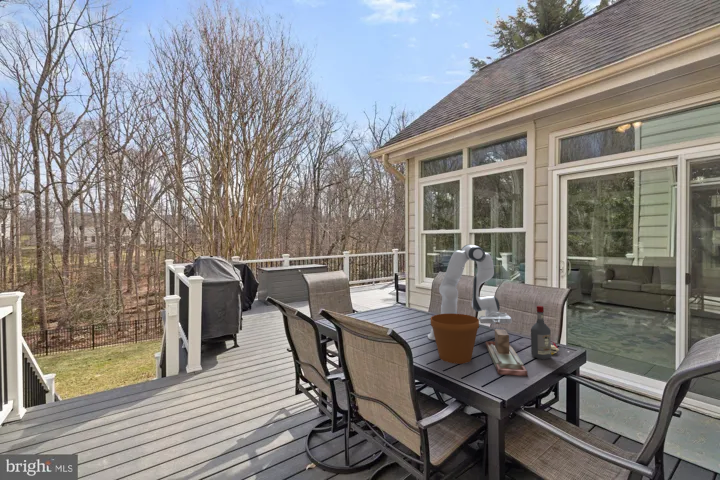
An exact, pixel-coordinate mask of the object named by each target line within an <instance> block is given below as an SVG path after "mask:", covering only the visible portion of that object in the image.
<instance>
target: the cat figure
mask: <svg viewBox="0 0 720 480" xmlns="http://www.w3.org/2000/svg"><path fill="white" fill-rule="evenodd" d="M551 343H552V344H553V345H552V344H551V355H554V354H557V352H559V351H560V349H559V348H558V346H557V345H556V343H555V342H553V341H552V340H551Z"/></svg>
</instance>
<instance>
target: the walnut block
mask: <svg viewBox="0 0 720 480" xmlns="http://www.w3.org/2000/svg"><path fill="white" fill-rule="evenodd" d="M494 342H495V347H496V349H497V351H498V353H503V354H509V344H510V334H509V333H508V332H507V330H506V329H501V328H500V329H499V328H498V329H497V328H495V329H494Z"/></svg>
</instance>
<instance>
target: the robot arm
mask: <svg viewBox="0 0 720 480" xmlns="http://www.w3.org/2000/svg"><path fill="white" fill-rule="evenodd" d="M468 261H472V262H473V261H474V262H476V267H477V273H476V275H474V277H473V281H472V283H473V284H472V297H471V298H472V299H471V308H472V309H473V310H474V311H476V312H482V311H484V312H485V313H484V315H481V316H479V317H478V319H479V324H491V325H500V324H513V323H512V322H513V320H512V317H511V316H510V315H509V314H507V313H508V312H501V311H500V310H501V309H500V307H501V306H500V302H499V300H498V298H497V297H496V296H495V295H487V296H479V295H480V286H481V285H482V284H483V283H485V282H487V281H490V280H491V279H492V278H493V277H494V275H495V268H494V262H493V258H492V255H491V254H490V253H489V252H485V251H484V250H483V248H482V247H480V246H478V245H475V244H466V245H464V246H463V247H461V249H460V250H454V251H453V253H452V255H451V257H450V259H449V261H448V264H447V268H446V270H445V274H444V276H443V278H442V281H441V283H440V285H439V288H438V291H439V294H440V295H441V305H440V314H458V313H457V312H458V310H457V309H458V300H459V290H458V288H457V286H458V283H459V281H460V280H461V279H462V276H463V274H464V273H463V272H464V269H465V267H466V264H467V262H468ZM427 339H429V340H433V341H436V340H435V336H434V332H433V328H432V327H431V330H430V333H428V334H427Z"/></svg>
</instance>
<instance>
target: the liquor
mask: <svg viewBox="0 0 720 480" xmlns="http://www.w3.org/2000/svg"><path fill="white" fill-rule="evenodd" d="M544 309H545V307H544V306H543V305H536V322H535V323H534V324H533V325H532V326H531V329H530V348H531V350H530V351H531V353H530V354H531V356H532V357H534V358H536V359H538V360H548V359H551V357H552V354H551V345H552V342H551V341H552V340H551V339H552V337H551V336H552V335H551V333H552V332H551V331H552V330H551V328H550V327H549V326H548V325H547V324H546V323H545V320H544Z"/></svg>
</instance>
